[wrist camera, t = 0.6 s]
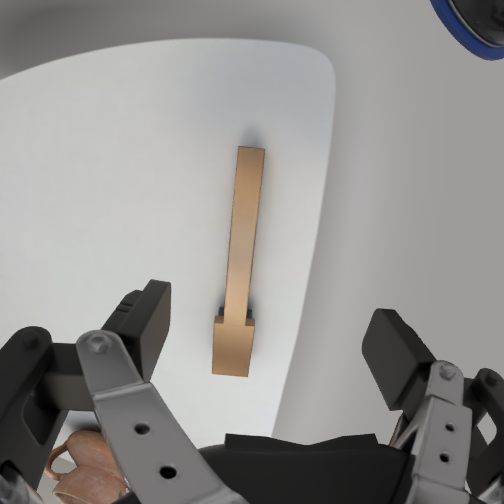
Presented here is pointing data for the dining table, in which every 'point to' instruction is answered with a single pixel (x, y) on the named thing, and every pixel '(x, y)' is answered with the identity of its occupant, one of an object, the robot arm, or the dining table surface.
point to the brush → (239, 270)
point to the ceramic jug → (87, 471)
